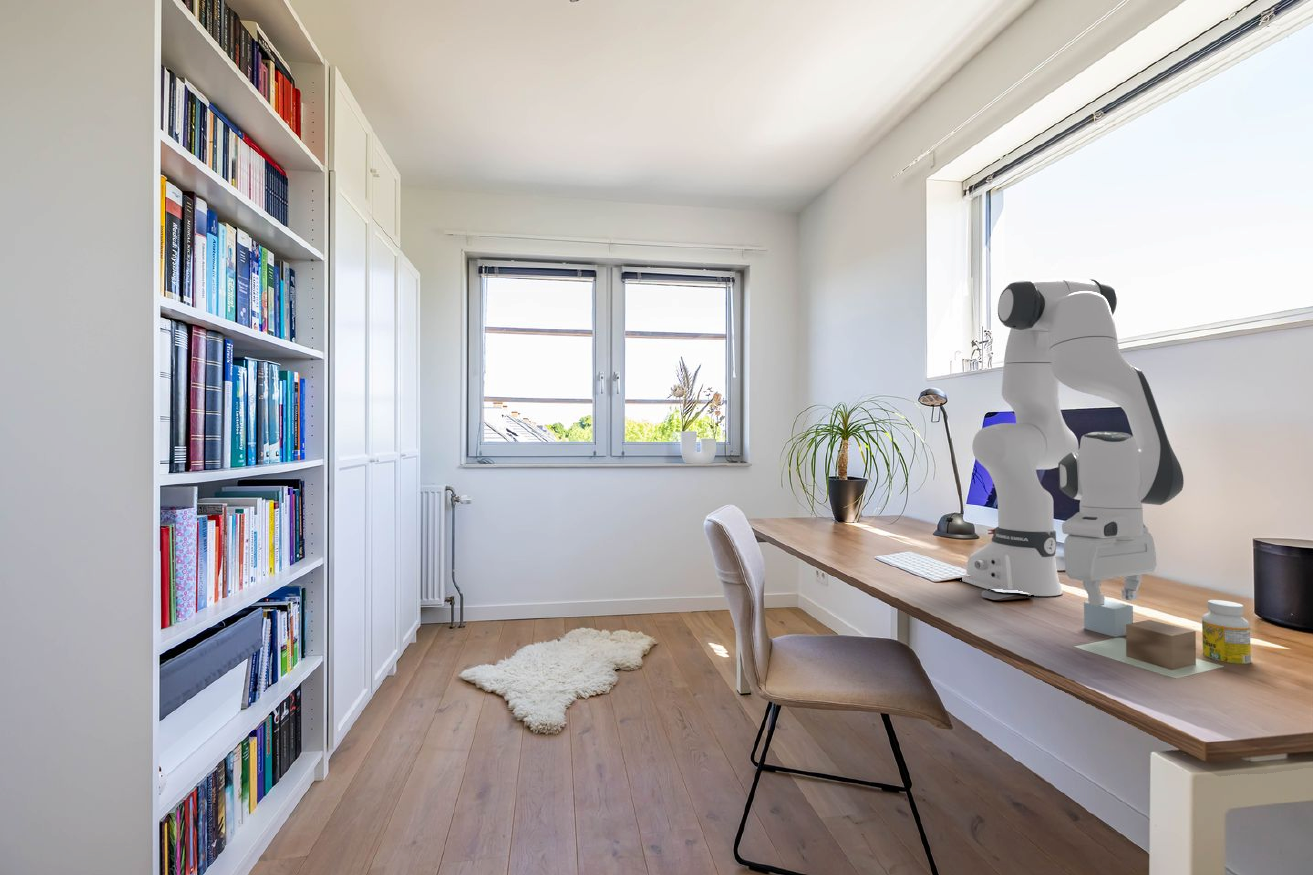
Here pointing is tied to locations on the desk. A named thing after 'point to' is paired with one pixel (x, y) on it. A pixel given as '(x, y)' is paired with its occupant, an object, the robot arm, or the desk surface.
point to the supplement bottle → (1226, 633)
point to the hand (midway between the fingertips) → (1113, 602)
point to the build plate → (1118, 652)
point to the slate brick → (1108, 618)
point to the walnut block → (1161, 644)
